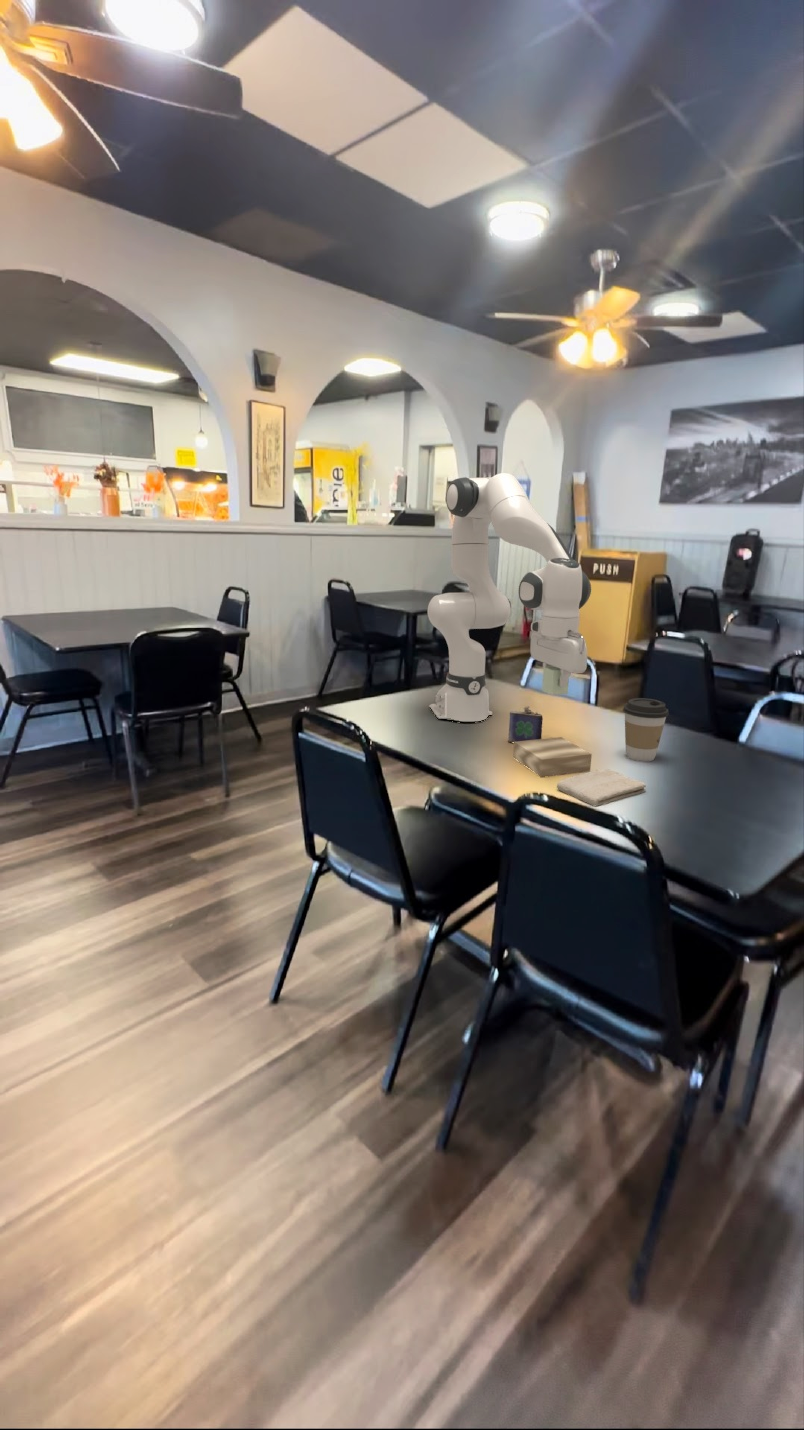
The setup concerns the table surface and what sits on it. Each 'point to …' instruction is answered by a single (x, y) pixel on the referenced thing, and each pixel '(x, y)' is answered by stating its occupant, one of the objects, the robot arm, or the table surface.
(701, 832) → the table surface
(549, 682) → the sage block
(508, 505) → the robot arm
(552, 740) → the birch block
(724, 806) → the table surface
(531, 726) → the dark blue flattened pouch
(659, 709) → the coffee cup
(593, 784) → the washcloth
